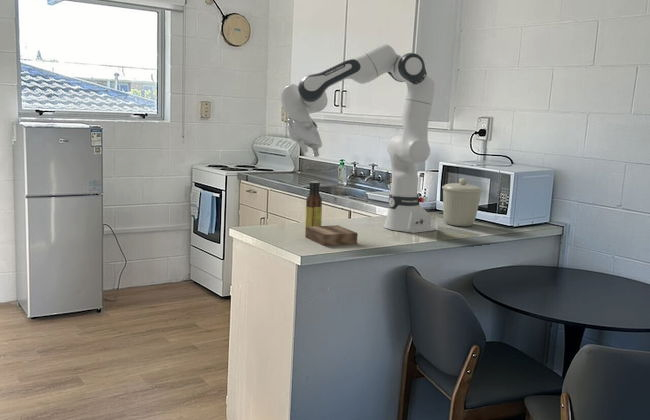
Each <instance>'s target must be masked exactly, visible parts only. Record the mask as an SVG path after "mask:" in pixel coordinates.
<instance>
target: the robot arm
mask: <svg viewBox="0 0 650 420" xmlns="http://www.w3.org/2000/svg"><path fill="white" fill-rule="evenodd" d="M425 64H426V63H425V61H424V59H423V57H421V55H419V54H418V53H414V52H408V53H402V54H400V55H399V54H398V53H396V51H395V49H394V48H393V47H392V46H391V45H389V44H387V43H384V44H381V45H378V46H376V47H373V48H371V49H369V50H367V51H365V52H363V53H362V54H360V55H358V56H355V57H353V58H352V59H347V60H345V61H342V62H340V63H338V64H336V65H333V66H332V67H329V68H327V69H326V70H323V71H321V72H317V73H312V74H308V75H306V76H304V77H302V78H301V80H300V81H299V83H298V85H297V84H295V83H293V84H289V85H287V86H285V87H284V88H283V89H282V90H281V92H280V101H281V105H282V107H283V108H282V109H283V112H285V114H286V119H287V123H288V124H287V130H288V133H289V137H290V139H291V140H292V141H293V142H296V143H297V144H298V146H299V147H300V148H301V151H302V153H307V152H308V151H309V149H311V150H312V151H313V153H312V154H313V157H315V158H319V156H320V152H319V149H320V148H321V147H322V146H323V143H322V139H321V135H320V133H319V131H318V124H317V123H316V122H315V121H314V120H313V119H312V117H311V116H310V114H315V113H318V112H320V111H323V110H324V109H325V108H326V107H327V105H328V97H327V92H326V91H327V90H328V89H329V88H330V87H332V86H335V85H337V84H338V83H340V82H342V81H345V80H348V79H349V80H352V81H354V82H355V83H358V84H361V85H362V84H367V83H370V82H372V81H374V80H376V79H377V78H379V77H380V76H382V75H384V74H386V73H388V75H390V77H392V79H393V80H394V81H396V82H399V83H405V84H406V87H407V94H406V97H405V100H404V106H403V109H402V115H401V122H402V134H397V135H395V136H394V135H393V137H392V136H391V138H390V139H389V141H388V142H387V146H386V147H387V152H388V155H389V161H390V168H391V186H390V193H389V194H388V195H389V196H388V211H387V216H386V219H385V221H384V224H383V228H385V229H387V230H393V231H396V232H405V233H411V234H415V233H424V232H432V231H436V230H437V228H436V227H435V226H434V225H432V223H431V221H432V218H431V215H430V214H429V212H428V211H426V210H425V209H424V207H422V206H421V205H420V203H424V201H425V197H419V196H418V190H419V189H418V188H419V181H420V179H419V175H418V173H417V170H416V164H417V165H418V164H423V163H425V162H426V161H427V160H428V159H429V157H430V155H431V147H430V144H429V141H428V140H429V137H428V136H429V135H428V133H429V131H428V130H429V129H428V126H429V121H430V116H431V111H432V107H433V102H434V98H435V86H436V85H435V80H433V78H432V77H430V76H429V75H427V70H426V65H425ZM308 148H309V149H308Z"/></svg>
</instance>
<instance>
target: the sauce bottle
mask: <svg viewBox="0 0 650 420" xmlns="http://www.w3.org/2000/svg"><path fill="white" fill-rule="evenodd" d="M308 184H309V185H308V186H309V194H308V195H307V196H306V200H305V201H306V202H305V203H306V204H305V221H304V222H305V223H304V225H305V226H304V228H305V230H306V227H310V226H322V221H323V220H322V218H323V217H322V214H323V213H322V211H323V206H322V205H323V204H322V202H323V199H322V197H321V195H320V185H321V183H320V181H309V183H308Z"/></svg>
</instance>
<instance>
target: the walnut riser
mask: <svg viewBox="0 0 650 420" xmlns="http://www.w3.org/2000/svg"><path fill="white" fill-rule="evenodd" d="M304 235H305V238H307V239H309V240H310V241H313V242H315V243H317V244H319V245H322V246H323V247H325V246H339V245H340V246H342V245H356V244H358V236H359V235H358V232H356V231H354V230H351V229H348V228H346V227H343V226H341V225H338V224H336V225H321V226H310V227H306V229H305V234H304Z"/></svg>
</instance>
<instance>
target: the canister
mask: <svg viewBox="0 0 650 420" xmlns="http://www.w3.org/2000/svg"><path fill="white" fill-rule="evenodd" d="M458 181H459V182H457V183H456V182H455V183H452V182H451V183H447V184H446V183H445V184H444V185H442V186H441V188H442V209H443V210H442V212H443V213H442V215H443V216H442V217H443V221H444V223H446V224H447V225H451V226H453V227H470V226H472V225H474V223H475V221H476V217H477V213H478V210H479V205H480V200H481V196H482V193H483V192H484V190H483V189H481V187H479V186H476V185H473V184H468V179H466V178H464V177H462V178H459V180H458Z"/></svg>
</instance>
